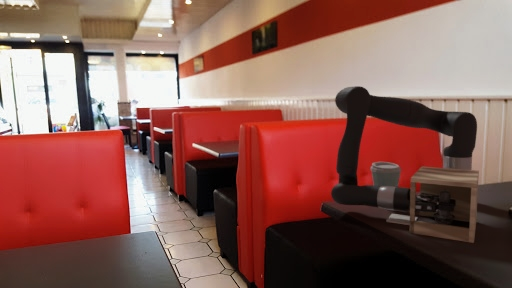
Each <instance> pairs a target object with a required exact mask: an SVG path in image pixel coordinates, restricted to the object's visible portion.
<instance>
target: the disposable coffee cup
mask: <svg viewBox="0 0 512 288" xmlns="http://www.w3.org/2000/svg"><path fill="white" fill-rule="evenodd" d="M370 171H371V176H372V178H371V179H372V183H373V184H372V185H375V186H393V187H399V183H400V176H401V171H402V168H401V167H400V166H399V164H396V163H394V162H388V161H375V162H372V163H371V166H370Z"/></svg>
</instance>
